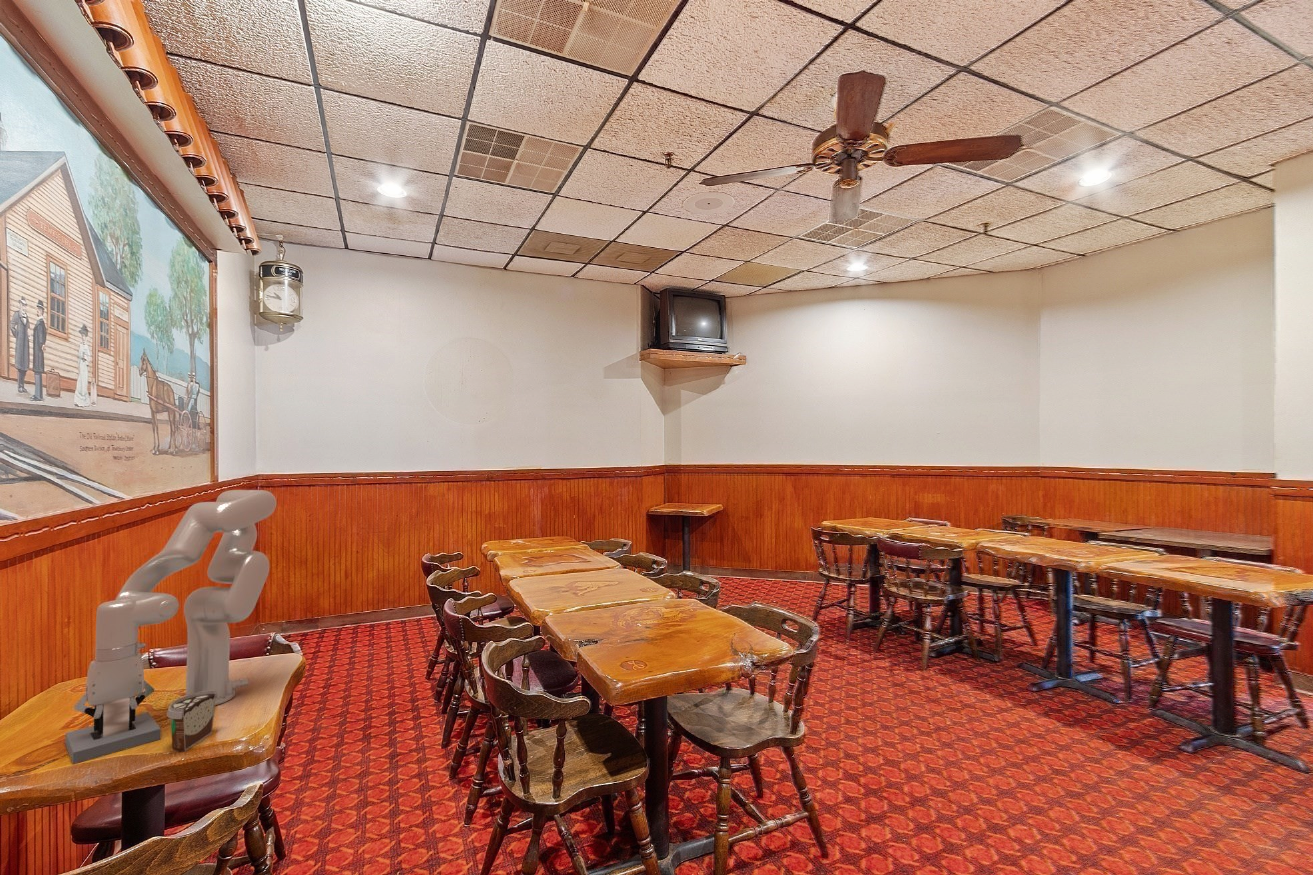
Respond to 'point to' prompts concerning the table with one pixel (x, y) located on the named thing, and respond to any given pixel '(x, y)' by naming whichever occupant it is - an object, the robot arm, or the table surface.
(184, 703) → the food container
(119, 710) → the off-white block
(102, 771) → the table surface
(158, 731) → the charcoal pocket board
